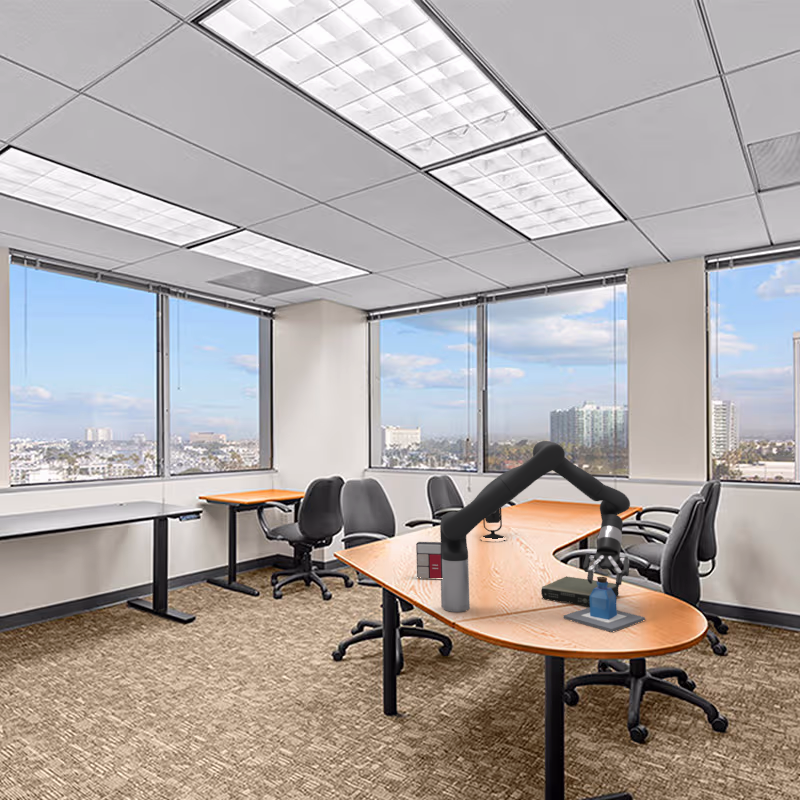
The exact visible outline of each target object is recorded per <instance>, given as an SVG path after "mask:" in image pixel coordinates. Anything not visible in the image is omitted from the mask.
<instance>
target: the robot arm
mask: <svg viewBox="0 0 800 800" xmlns="http://www.w3.org/2000/svg"><path fill="white" fill-rule="evenodd" d="M565 452H566V451H565V449H564V448H563V447H562V445H560V444H558V443H556V442H553V441H549V440H542V441H539V442H537V443H536V444H535V445H534V446H533V449H532V457H531V458H529V459H528V460H527V461H526V462H524V463H523V464H520V465H518V466H516V467H513V468H512V469H509V470H507V471H505V472H503V473H501V474H499V476H497V477H495V478H494V479H493V480H492V481H490V482H489V483H487V485H486V486H484V488H483V489H482V490H481V491H480V492H479V493H478V494H477V496H475V498H474V499H473V500H472V501H471V502H470V503H468V504H467V505H466V506H464V507H463V508H461V509H460V510H458V511H449V512H446V513H445V514H444V515H443V516H442V518H441V520H440V526H439V528H440V529H439V530H440V542H441V551H442V577H443V579H442V580H440V598H441V599H440V602H441V604H440V605H441V608H442V609H443V610H444V611H447V612H453V613H461V612H466V610H467V611H469V610H470V605H471V604H470V578H469V576H470V574H469V573H470V571H469V569H470V568H469V549H468V544H467V543H468V541H467V535H469V534H470V533H471V532H472V531H473V530H474V528H476V527H477V526H478V525H479V524H480V523H481V522H482V521H483V520H484V519H485V518H486V517H488V516H489V515H491V514H492V513H494V512H495V511H497V510H498V509H500V508H501V509H502V508H503V507H504V506H505V505H507V504H508V503H510V501H512V500H513V499H515V498H516V497H517V496H518V495H519V494H521V493H522V492H524V491H525V490H526V489H528V487H529V486H531V485H532V484H533V483H534V482H537V480H539V479H541V478H542V477H543V476H545V475H547V474H549V473H550V472H552V471H553V472H555V473H556V474H558V475H559V476H560V477H562V478H563V479H565V480H566V481H567V482H568V483H570V484H571V485H573V486H574V487H575V488H576V489H577V490H578V491H580V492H581V493H582V494H584V495H585V496H586V497H587V498H589V499H590V500H592V501H594V502H600V504H599V511H600V517H601V525H600V530H599V534H598V538H597V546H596V553H595V554H594V555H591V554H590V553H589V552H588V553H586V554H585V557H584V562H583V566H582V567H583V570H584V572H585V573H587V578H586V579H588V582H589V583H590V584H592V581H593V580H594V573H596V572H598V571H599V570H609V571H610V570H611V571H612V570H613V571H614V572H615V573H616V577H615V584H616V586H617V587H618V588H619V587H620V586H621V585H622V581H623V577H629V576H630V559H629V557H628V556H627V555H626V556H624V557H620V556H621V548H622V544H623V543H622V539H623V537H622V536H623V535H622V534H623V523H624V522H623V518H622V517H621V516H619V515H621V514H623V513H624V512H626V511H628V510H629V509H630V508H631V502H630V499H629V498H628V496H627V495H626V494H625V493H623V492H622V491H620V490H618V489H616V488H613V487H611V486H609V485H606V484H604V483H602V482H601V481H600V480H599V479H598V478H597V477H595V476H593V475H592V474H590V473H589V472H587V471H586V470H584V469H582V468H581V467H579V466H577V465H576V464H575V463H573V462H572V461H570V460H569V459H567V458H566V455H565V454H566V453H565ZM591 563H592V564H591ZM620 563H622V565H623V569H622V570H621V568H620V567H619V564H620ZM590 564H591V565H590ZM468 609H469V610H468Z"/></svg>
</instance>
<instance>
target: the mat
mask: <svg viewBox="0 0 800 800" xmlns="http://www.w3.org/2000/svg"><path fill="white" fill-rule="evenodd" d="M562 617H563V618H564V620H566V621H570V620H572V621H571V622H574V621H575V623H577V622H578V624H580V625H583V626H584V625H585V626H588V627H592V628H595V629H599V630H602V631H605V630H606V632H609V631H610V632H609V633H614V632H613V631H615V632H617V631H620V630H622V628H623V629H625V628H624V627H626V628H628V627H631V626H634V625H636V624H635V623H637V624H639V623H638V622H640V623H642V622H644V621H643V620H645V621H646V617H645V616H641V615H637V614H634V613H633V614H632V613H630V612H625V611H621V610H618V609H617V615H616V616H614V617H613V618H611V619H609V620H608V619H603V618H598V617H593V616H590V607H585V608H583V609H579V610H576V611H574V612H570V613H568V614H567V613H566V614H564V615H563V616H562ZM641 621H642V622H641ZM633 624H634V625H633ZM630 625H631V626H630ZM627 626H628V627H627ZM619 629H620V630H619ZM616 630H617V631H616Z"/></svg>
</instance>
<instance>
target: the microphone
mask: <svg viewBox="0 0 800 800" xmlns="http://www.w3.org/2000/svg"><path fill="white" fill-rule="evenodd" d="M502 520H503V518H502V507H501V508H500V509H498V510H497V511H495V512H494V513H492V514H491V515H489V516H488V517H486V518H485V519H484V520H482V521H483V528H484V529H485V530H486V531H487V532H490V533H488V534H486V535H482V536H483V537H485V538H492V539H498V538H503V537H504V536H505V535H501V534H497V533H496V532H499V531H500V530H501V529H502V527H503V525H502V523H503V522H502ZM485 522H486V523H487V524H498V523H500V524H499V525H500V526H499V527H498V528H497V529H493V530H492V529H488V528H487V527H486V523H485Z"/></svg>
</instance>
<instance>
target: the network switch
mask: <svg viewBox="0 0 800 800" xmlns="http://www.w3.org/2000/svg"><path fill="white" fill-rule="evenodd" d="M597 581H598V580H594V579H593V581H592V584H590V583H589V582H588V579H587V578H580V577H572V576H564V577H561V578H559V579H557V580H555V581H553V582H550V583H548V584H546V585H543V586H542V587H541V591H540V592H541V596H542V597H541V598H542V599H543V598H544V599H543V600H547V599H549V600H548V601H553V600H555V601H554V602H560V601H561V603H569V604H575V605H578V606H580V605H581V606H584V607H585V606H586V607H585V608H589V607H590V595H591V593H592V591H593V589H594V588H596V587H598V585H597ZM607 587H608V588H611V589H612V590H613V592H614V593H615V595H616V598H618V596H619V593H620V592H619V587H617V586H616V583H613V582H608V585H607Z"/></svg>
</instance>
